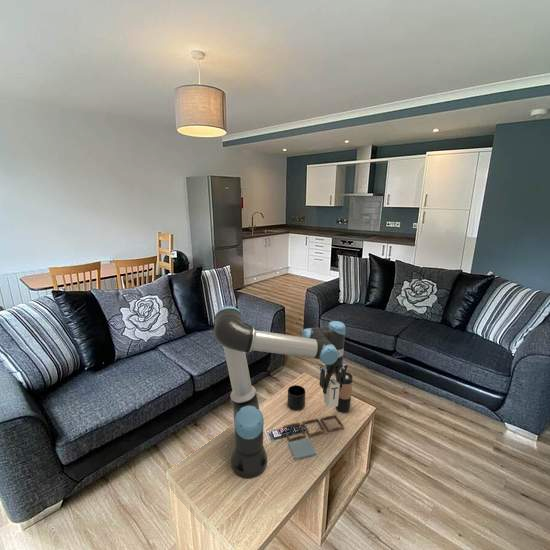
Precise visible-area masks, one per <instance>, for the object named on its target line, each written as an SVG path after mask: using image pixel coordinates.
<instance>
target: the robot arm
mask: <svg viewBox="0 0 550 550" xmlns="http://www.w3.org/2000/svg"><path fill="white" fill-rule="evenodd" d="M213 318H214V319H213V322H214V330H213V332H214V337H215V340H216V341H217V342H218V344H219V345H220V346H222V347H223V352H224V357H225V361H226V365H227V370H228V375H229V380H230V386H231V389H232V391H231V392H230V394H229V395H230V400H231V405H232V411H233V412H232V413H233V423H234V424H233V426H234V445H235V446H234V448H233V452H232V455H231V459H230V460H231V461H230V462H231V469H232V471H233V473H235V475H236V476H238V477H240V478H244V479H252V478H257V477H258V476H260V475H261V474H262V473H263V472H264V471H265V470H266V468H267V466H268V465H267V464H268V454H267V452H266V450H265V447H264V424H265V419H264V416H263V412H262V411H261V410H260V405H259V398H258V395H257V390H256V388H255V386H253V385H252V381H251V377H250V370H249V366H248V360H247V356H246V353H250V352H252V351H256V352H257V351H258V352H263V353H264V352H265V353H272V354H279V355H285V356H286V355H287V356H295V357H301V358H303V357H304V358H309V359H310V358H311V359H315V360H320V361H321V363H323V364H324V366H323V367H322V366H320V367H319V370H320V372H319V373H320V374H319V383H318V384H319V386H320V388H321V389H322V393H323V399H324V398H325V400H326V401H328V392H329V388H328V384H329V381H330V379H332V376H333V374H335V379H336V380H337V382H338V383H339V384H340V388H339V391H341V387H342V384H345V379H346V372H347V369H348V368H349V367H348V365H347V364H346V363H343V361H344V348H345V339H346V325H345V324H344V322H341V321H338V320H337V321H336V320H332V321H329V323H328V326H325V327H310V328H308V327H307V328H303V330H302V332H301V336H295V335H289V334H285V333H284V334H283V333H275V332H270V331H264V330H257V329H255V328H254V326H248V325H246V324H244V320H243V314H242V312H241V311H240V310H239V309H238V308H236V307H235V306H230V305H229V306H228V305H227V306H223V307H221V308H219V309H218V310H217V312H216V313H215V315H214V317H213ZM340 372H341V378H340Z"/></svg>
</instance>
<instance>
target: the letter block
mask: <svg viewBox="0 0 550 550" xmlns="http://www.w3.org/2000/svg"><path fill="white" fill-rule="evenodd" d="M328 388H329V392H328V401H326V400H325V398H324V397H323V403H324V404H325V405H326V407H327V408H328V409H332V408H336V407H337V406H338V399H339V388H340V384H339V383H338V382H337V380H336V377H333V378H330V381H329V384H328Z"/></svg>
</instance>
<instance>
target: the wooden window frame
mask: <svg viewBox="0 0 550 550" xmlns="http://www.w3.org/2000/svg"><path fill="white" fill-rule="evenodd" d="M313 423H317V424H318V426H319V427H320V429H321V430H320V431H314V432H309V429H308V428H307V427H306V425H308V424H309V425H310V424H313ZM301 426H302V427H303V426H304V427H303V429H304V428H305V429H304V432H306V433H305V434H306V436H308V437H307V438H311V437H315V436H320V435H324V434H326V429H325V427H324V425H323V424H322V422H321V420H320V419H319V418H314V419H308V420H304V421H302V422H301Z"/></svg>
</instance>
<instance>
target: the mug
mask: <svg viewBox="0 0 550 550" xmlns="http://www.w3.org/2000/svg"><path fill="white" fill-rule="evenodd" d="M305 406H306V389H305V388H304V387H303V386H301V385H298V384H297V385H296V384H295V385H291V386H290V387H288V389H287V407H288V408H289V409H290V410H292V411H296V412H297V411H301V410H303V409H304V408H305Z"/></svg>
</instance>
